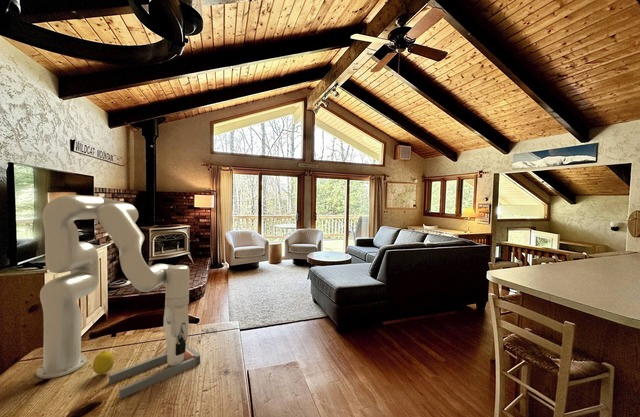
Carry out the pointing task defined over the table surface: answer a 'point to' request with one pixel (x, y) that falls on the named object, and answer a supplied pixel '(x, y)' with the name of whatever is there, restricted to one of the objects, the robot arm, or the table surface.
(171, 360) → the drinking glass
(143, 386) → the guide channel
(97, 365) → the lemon
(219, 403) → the table surface
